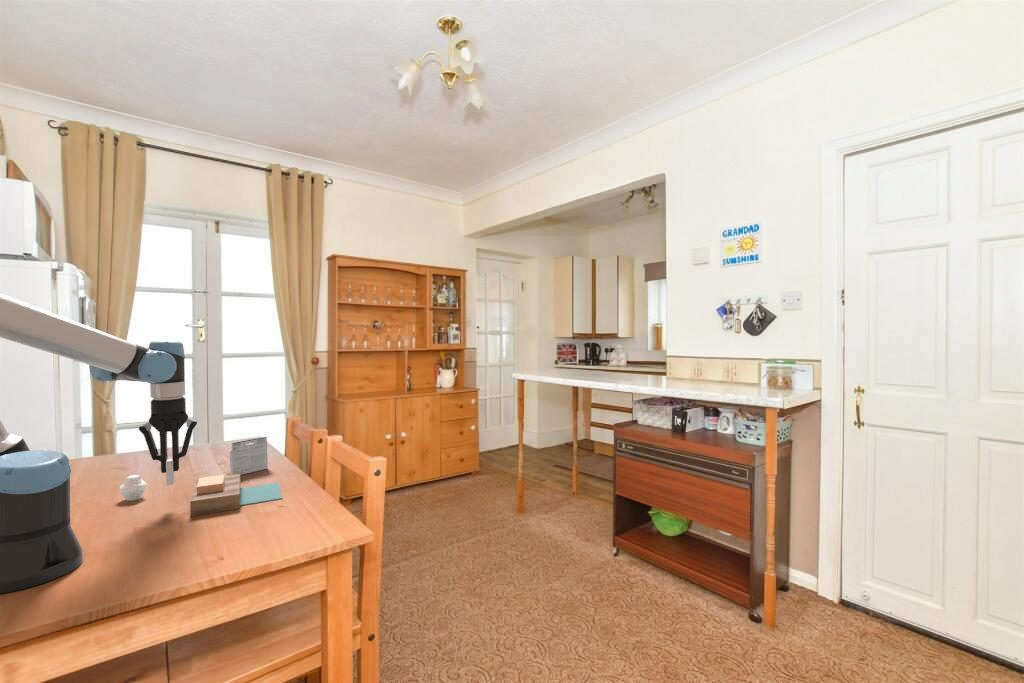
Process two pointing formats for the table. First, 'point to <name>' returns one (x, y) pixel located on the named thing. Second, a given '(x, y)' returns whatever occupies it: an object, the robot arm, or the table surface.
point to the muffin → (133, 488)
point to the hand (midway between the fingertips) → (170, 483)
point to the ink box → (248, 456)
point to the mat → (260, 493)
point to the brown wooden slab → (217, 498)
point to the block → (210, 484)
